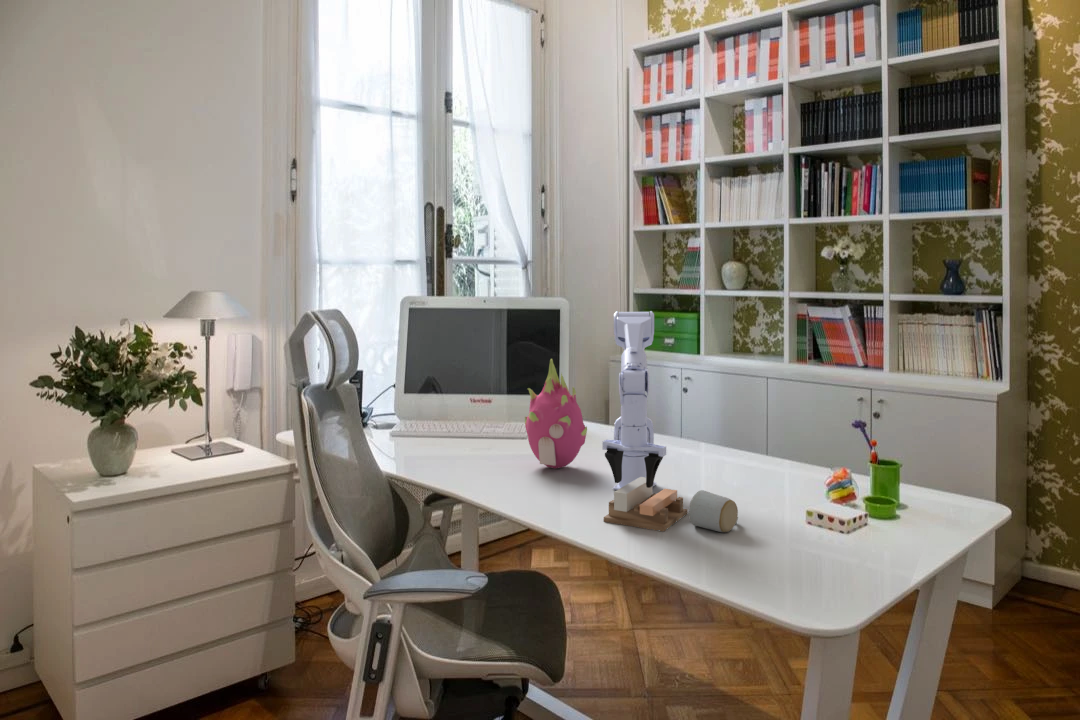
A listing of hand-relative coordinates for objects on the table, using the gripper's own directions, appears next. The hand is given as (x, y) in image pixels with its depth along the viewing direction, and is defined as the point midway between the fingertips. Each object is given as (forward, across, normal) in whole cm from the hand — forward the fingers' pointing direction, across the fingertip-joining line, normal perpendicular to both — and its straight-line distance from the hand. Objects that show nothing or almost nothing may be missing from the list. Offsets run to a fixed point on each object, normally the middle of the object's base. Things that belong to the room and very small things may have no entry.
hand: (633, 484), depth 180 cm
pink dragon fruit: (+8, -36, +28) cm, 46 cm away
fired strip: (+4, +6, 0) cm, 7 cm away
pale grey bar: (+4, 0, 0) cm, 4 cm away
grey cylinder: (+7, +18, +1) cm, 20 cm away
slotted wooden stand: (+7, +3, 0) cm, 8 cm away
